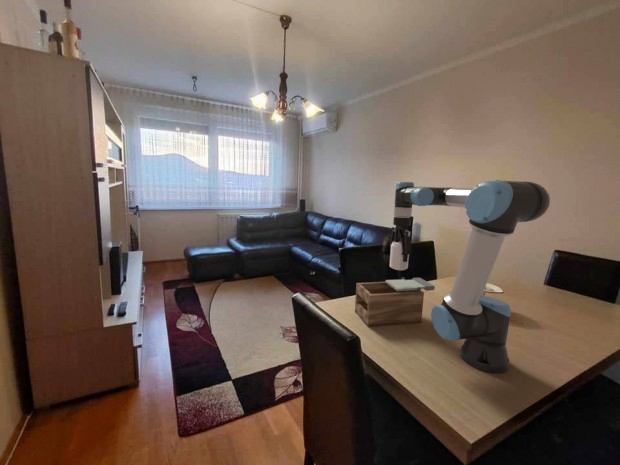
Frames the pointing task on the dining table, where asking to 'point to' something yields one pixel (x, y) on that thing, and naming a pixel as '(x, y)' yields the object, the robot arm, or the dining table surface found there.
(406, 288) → the lid
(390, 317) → the crate
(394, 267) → the beverage can
